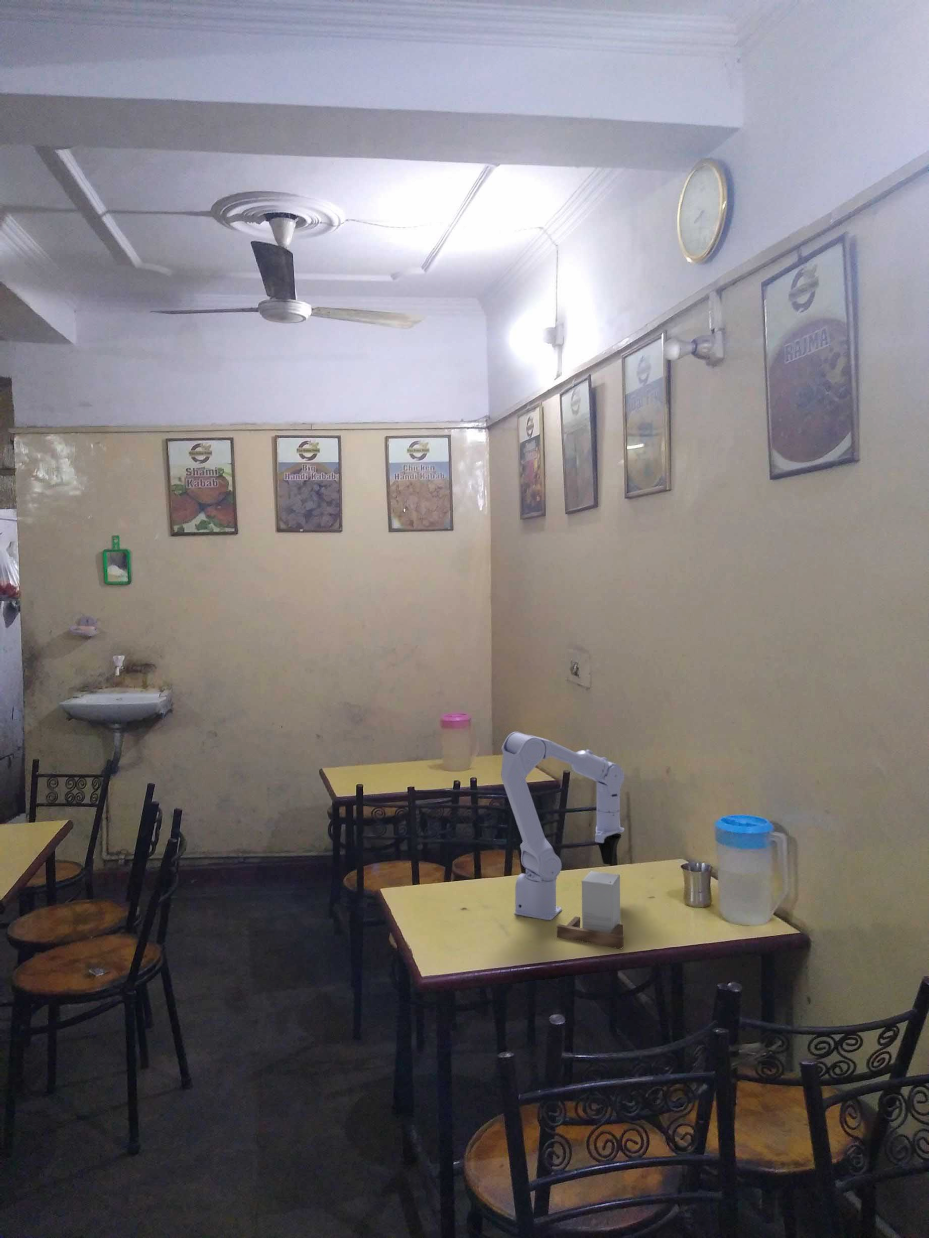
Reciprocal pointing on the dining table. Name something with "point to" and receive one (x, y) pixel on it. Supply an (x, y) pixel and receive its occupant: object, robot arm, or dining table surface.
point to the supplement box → (601, 901)
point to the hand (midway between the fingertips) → (607, 863)
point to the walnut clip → (591, 934)
